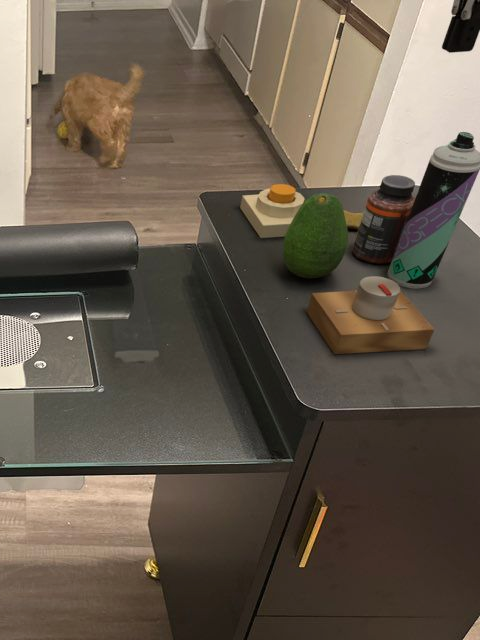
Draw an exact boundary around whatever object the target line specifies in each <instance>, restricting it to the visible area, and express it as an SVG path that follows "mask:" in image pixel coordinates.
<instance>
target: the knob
mask: <svg viewBox="0 0 480 640" xmlns="http://www.w3.org/2000/svg"><path fill="white" fill-rule="evenodd" d="M356 290H357V292H356V295H355V298H354V301H353V304H352V309H353V311H354V312H355V313H356V314H357V315H359V316H361V317H363V318H366V319H371V320H383V319H386V318H388V317H389V316H390V315H391V313H392V311H393V308H394V305H395V303H396V300H397V298H398V295H399V293H400V290H401V286H400V285H398V284H397V283H395V282H394V281H392V280H390V279H389V278H388V277H383V276H377V275H375V276H374V275H373V276H366V277H363V278H362V279H361V280H360V281H359V284H358V287H357V289H356Z"/></svg>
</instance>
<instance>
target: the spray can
mask: <svg viewBox="0 0 480 640" xmlns="http://www.w3.org/2000/svg"><path fill="white" fill-rule="evenodd" d="M474 139H475V137H474V135H473V134H472V133H471V132H467V131H460V132H458V133H457V136H456V138H455V139H453V140H451V141H449V142H448V144H446V145H441V146H438V147H436V148H434V149H433V152H432V154H431V155H430V158H429V161H428V163H427V166H426V169H425V172H424V174H423V176H422V180H421V182H420V185H419V187H418V190H417V193H416V195H415V201H414V203H413V206H412V209H411V211H410V214H409V217H408V219H407V222H406V225H405V227H404V230H403V233H402V235H401V238H400V241H399V243H398V246H397V249H396V251H395V254H394V257H393V259H392V262H390V264H389V268H388V270H387V274H386V275H387V279H390V280H392V281H394V282H395V283H397V284H398V285H399V287H403V288H407V289H417V290H419V289H425V288H428V287H430V286H431V285H432V282H433V280H434V278H435V277H436V273H437V271H438V269H439V266H440V264H441V262H442V259H443V258H444V255H445V252H446V250H447V248H448V245H449V243H450V241H451V239H452V237H453V234H454V231H455V229H456V227H457V225H458V222H459V219H460V218H461V215H462V214H463V213H462V212H463V210H464V207H465V205H466V203H467V201H468V198H469V197H470V196H469V195H470V194H471V191H472V189H473V186H474V184H475V182H476V180H477V177H478V175H479V172H480V151H478V150H477V149H476V145H475V142H474Z"/></svg>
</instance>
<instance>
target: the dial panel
mask: <svg viewBox="0 0 480 640" xmlns="http://www.w3.org/2000/svg"><path fill="white" fill-rule="evenodd" d="M356 292H357V289H354V290H343V291H342V290H341V291H325V292H324V291H323V292H312V293H311V296H310V300H309V303H308V305H307V308H306V309H307V310H306V314H307V315H308V317H309V318H310V320H311V322H312V323H313V324H314V326H315V327H316V329H317V330H318V332H319V333H320V335H321V336H322V338H323V340H324V341H325V342H326V344H327V345H328V347H329V348H330V349H331V351H332V352H333V354H334V355H347V354H363V353H378V352H379V353H382V352H395V351H396V352H397V351H413V350H414V351H415V350H426V349H427V347H428V345H429V343H430V341H431V338H432V336H433V334H434V332H435V328H434V327H433V325H431V323H430V322H429V321H428V320H427V319H426V318H425V317H424V315H423V314H422V313H421V312H420V311H419V310H418V308H416V306H415V305H414V304H413V302H412V301H410V299H409V298H408V297H407V296H406V295H405V293H403V291H402V289H400V293H399V295H398V298H397V300H396V303H395V305H394V308H393V311H392V313H391V315H390V316H389V317H388V318H386V319H383V320H371V319H366V318H363V317H361V316H359V315H357V314H356V313H355V312H354V311H353V309H352V304H353V301H354V298H355V295H356Z"/></svg>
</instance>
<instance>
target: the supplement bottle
mask: <svg viewBox="0 0 480 640" xmlns="http://www.w3.org/2000/svg"><path fill="white" fill-rule="evenodd" d="M415 186H416V182H415V180H414V179H413V178H410V177H408V176H405V175H401V174H390V175H385V176H384V177H383V178H382V179H381V182H380V185H379V188H378V189H377V190H374V191H372V193H370V195H369V196H368V198H367V201H366V205H365V208H364V209H363V212H362V213H363V217H362V220H361V223H360V226H359V229H358V230H357V233H356V235H355V240H354V242H353V246H352V253H353V254H354V256H355V257H356V258H357V259H360V260H361V261H364V262H367V263H371V264H377V265H378V264H379V265H380V264H388V263H391V262H392V259H393V257H394V254H395V251H396V249H397V246H398V243H399V241H400V238H401V235H402V233H403V230H404V227H405V225H406V222H407V219H408V217H409V214H410V211H411V209H412V206H413V203H414V201H415V198H416V196H414V195H413V194H412V193H414V188H415Z"/></svg>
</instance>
